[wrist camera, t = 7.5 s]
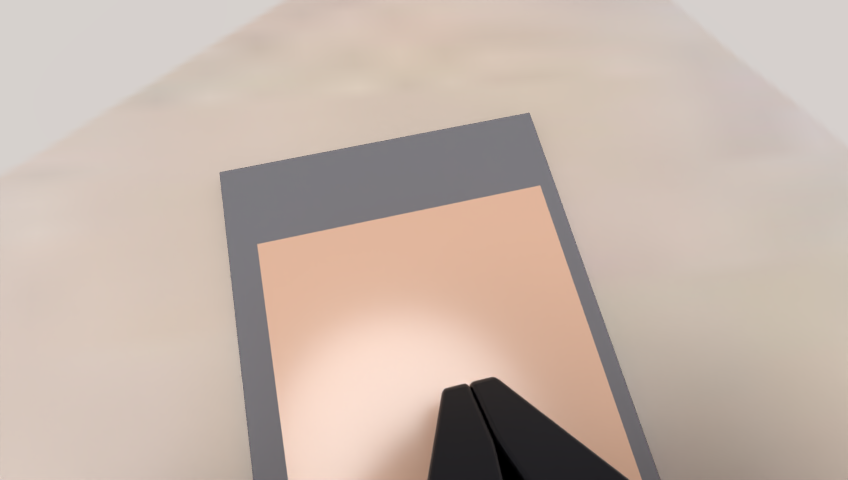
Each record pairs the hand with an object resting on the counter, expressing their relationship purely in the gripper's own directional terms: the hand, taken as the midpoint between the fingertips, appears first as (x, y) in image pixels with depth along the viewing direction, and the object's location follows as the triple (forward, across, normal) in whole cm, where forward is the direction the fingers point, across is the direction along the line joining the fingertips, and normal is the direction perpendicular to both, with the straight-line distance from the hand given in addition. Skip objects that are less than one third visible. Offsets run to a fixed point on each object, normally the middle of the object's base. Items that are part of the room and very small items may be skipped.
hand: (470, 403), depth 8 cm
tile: (+1, 0, +8) cm, 8 cm away
